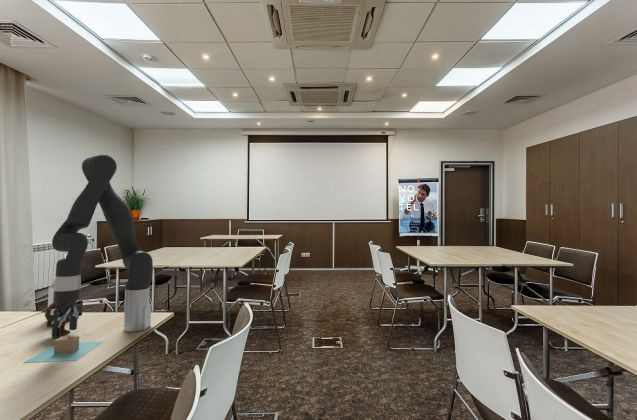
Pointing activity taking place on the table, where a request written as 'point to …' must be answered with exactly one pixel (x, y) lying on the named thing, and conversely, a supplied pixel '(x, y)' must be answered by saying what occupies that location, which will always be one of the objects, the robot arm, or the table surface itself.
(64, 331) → the ice cream bowl
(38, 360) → the teal square mat
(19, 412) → the table surface
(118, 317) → the table surface
